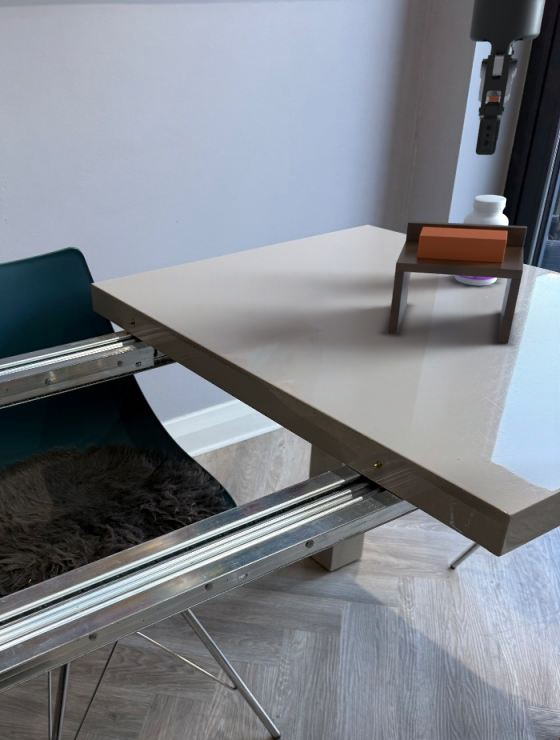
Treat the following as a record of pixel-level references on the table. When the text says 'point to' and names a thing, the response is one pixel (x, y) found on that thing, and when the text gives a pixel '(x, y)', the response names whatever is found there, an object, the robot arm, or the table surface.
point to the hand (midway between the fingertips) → (486, 148)
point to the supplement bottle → (489, 214)
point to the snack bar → (462, 244)
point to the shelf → (460, 269)
